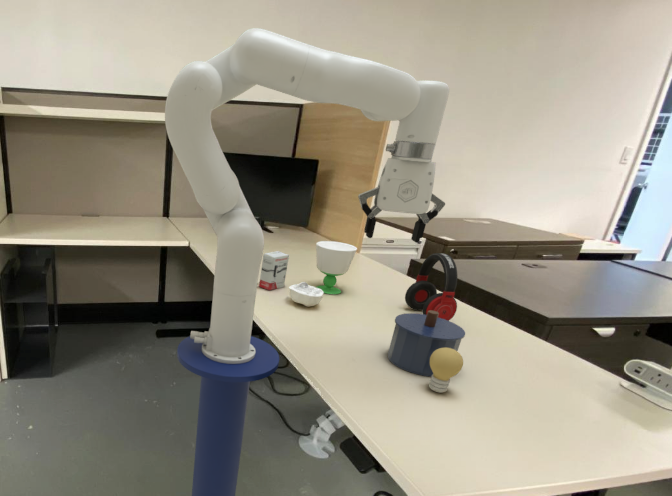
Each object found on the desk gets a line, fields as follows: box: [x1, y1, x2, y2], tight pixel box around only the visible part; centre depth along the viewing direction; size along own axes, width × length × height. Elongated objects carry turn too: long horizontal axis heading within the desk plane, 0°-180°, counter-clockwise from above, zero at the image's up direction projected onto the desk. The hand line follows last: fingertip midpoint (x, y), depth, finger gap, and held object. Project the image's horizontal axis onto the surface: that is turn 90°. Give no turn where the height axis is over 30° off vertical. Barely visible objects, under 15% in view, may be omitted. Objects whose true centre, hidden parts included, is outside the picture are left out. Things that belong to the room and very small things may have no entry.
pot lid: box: [394, 310, 466, 341], centre depth 111 cm, size 16×16×4 cm
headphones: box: [404, 252, 458, 321], centre depth 142 cm, size 18×10×20 cm, turn 3°
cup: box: [315, 240, 358, 295], centre depth 161 cm, size 14×14×16 cm
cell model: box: [288, 281, 325, 307], centre depth 147 cm, size 10×12×7 cm
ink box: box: [258, 250, 290, 291], centre depth 160 cm, size 8×5×12 cm, turn 134°
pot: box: [387, 323, 462, 378], centre depth 113 cm, size 15×15×10 cm
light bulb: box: [428, 348, 464, 394], centre depth 101 cm, size 6×6×10 cm
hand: (391, 239), depth 99 cm, fingers open, 9 cm apart
